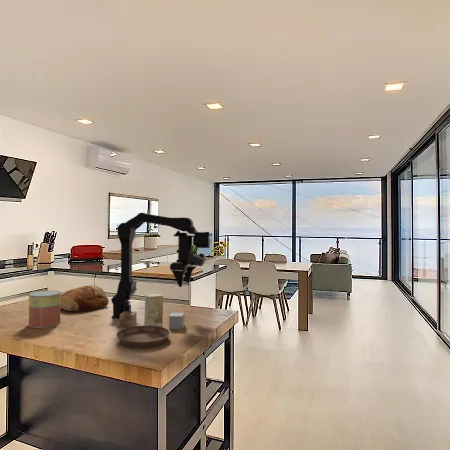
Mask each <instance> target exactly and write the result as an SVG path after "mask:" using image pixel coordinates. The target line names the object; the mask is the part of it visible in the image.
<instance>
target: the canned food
mask: <svg viewBox="0 0 450 450" xmlns="http://www.w3.org/2000/svg"><path fill="white" fill-rule="evenodd" d="M61 293H62V292H61V291H60V290H53V289H51V290H40V291H39V290H38V291H33V292H30V293H28V325H27V326H28V327H29V328H32V329H42V328H52V327H54V326H55V327H56V326H58V325H60V324H61V312H62V311H61V310H62V309H61V295H62V294H61Z"/></svg>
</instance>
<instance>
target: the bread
mask: <svg viewBox="0 0 450 450" xmlns="http://www.w3.org/2000/svg"><path fill="white" fill-rule="evenodd" d="M109 303H110V301H109V298H108V296H107V295H106V292H105V291H104V289H103V288H102V287H100V286H97V285H94V284H93V285H92V284H91V285H90V284H89V285H82V286H78V287H75V288H72V289H70V290H66V291H65V292H63V293H62V294H61V310H64V311H66V312H72V313H73V312H78V313H79V312H89V311H90V312H91V311H96V310H98V309H101V308H105V307H106V306H108V305H109Z"/></svg>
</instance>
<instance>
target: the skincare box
mask: <svg viewBox="0 0 450 450" xmlns="http://www.w3.org/2000/svg"><path fill="white" fill-rule="evenodd" d="M144 295H145V296H144V320H143V321H144V324H143V326H158V327H163V315H164V295H163V294H162V293H151V294H144Z"/></svg>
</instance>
